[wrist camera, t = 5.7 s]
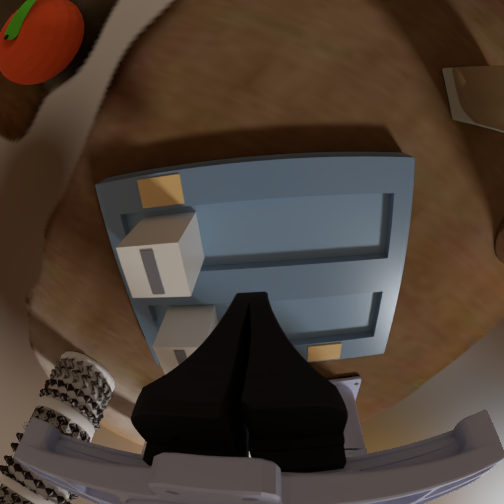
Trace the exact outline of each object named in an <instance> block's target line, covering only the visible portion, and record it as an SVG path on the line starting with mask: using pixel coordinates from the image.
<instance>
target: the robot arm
mask: <svg viewBox="0 0 504 504" xmlns="http://www.w3.org/2000/svg"><path fill="white" fill-rule="evenodd" d="M360 383H361V377H359V376H356V377H349V378H341V379H333V380H327V379H326V378H325V377H323V376H322V375H321V374H320V373H319V372H317V371H316V370H315V369H314V368H313V367H312V366H311V365H310V364H309V363H308V362H307V361H306V360H305V359H304V358H303V357H302V356H301V355H300V353H299V352H298V351H297V350H296V349H295V347H294V346H293V345H292V343H291V342H290V341H289V339H288V338H287V336H286V335H285V333H284V332H283V330H282V328H281V327H280V325H279V323H278V321H277V319H276V317H275V315H274V313H273V311H272V308H271V305H270V302H269V299H268V293H267V292H265V291H263V292H246V293H237V294H236V295H235V296H234V299H233V300H232V302H231V304H230V306H229V307H228V309H227V311H226V312H225V314H224V315H223V317H222V318H221V320H220V321H219V323H218V324H217V326H216V327H215V328H214V330H213V331H212V332H211V333H210V335H209V336H208V337H207V338H206V340H205V341H204V342H203V343H202V344H201V345H200V346H199V347H198V348H197V349H196V350H195V351H194V352H193V353H192V354H191V355H190V356H189V357H188V358H187V359H186V360H184V361H183V362H182V363H181V364H180V365H178V366H177V367H176V368H174V369H173V370H171V371H170V372H169V373H167V374H166V375H164V376H162V377H161V378H159V379H157V380H156V381H154V382H152V383H150V384H149V385H147V386H145V387H143V389H142V391H141V393H140V395H139V397H138V399H137V401H136V404H135V407H134V410H133V413H132V416H131V422H132V424H133V426H134V427H135V429H136V430H137V431H138V432H139V434H140V435H141V436H142V437H143V438H144V440H145V441H146V442H147V444H146V448H145V452H144V455H140V454H135V453H130V452H126V451H121V450H116V449H112V448H108V447H104V446H100V445H96V444H93V443H90V442H86V441H83V440H79V439H76V438H73V437H70V436H67V435H64V434H61V433H60V431H59V430H58V429H57V428H56V427H55V426H53V425H52V424H50V423H48V422H46V421H43V420H41V419H38V418H35V417H32V418H31V420H30V422H29V424H28V426H27V429H26V431H25V433H24V435H23V437H22V439H21V441H20V443H19V445H18V448H17V450H16V452H15V454H14V457H15V458H16V459H17V460H18V461H19V462H21V463H22V464H23V465H25V466H26V467H27V468H29V469H30V470H31V471H33V472H34V473H35V474H37V475H38V476H40V477H41V478H43V479H44V480H46V481H47V482H49V483H52V484H54V485H56V486H58V487H60V488H62V489H64V490H67V491H69V492H71V493H73V494H76V495H78V496H80V497H82V498H85V499H87V500H90V501H92V502H95V503H97V504H425V503H427V502H430V501H432V500H435V499H437V498H440V497H442V496H444V495H447V494H449V493H451V492H454V491H456V490H458V489H460V488H462V487H465V486H467V485H469V484H471V483H473V482H475V481H476V480H478V479H479V478H480V477H482V476H483V475H484V474H486V473H487V472H488V471H490V470H491V469H492V468H493V467H495V466H496V465H497V464H498V463H500V462H501V461H502V460H503V459H504V450H503V447H502V445H501V442H500V440H499V437H498V435H497V432H496V430H495V428H494V425H493V423H492V421H491V418H490V416H489V414H488V412H487V410H483V411H481V412H478V413H476V414H473V415H471V416H468V417H466V418H464V419H463V420H461V421H460V422H459V423H458V424H457V425H456V426H455V428H454V430H452V431H449V432H446V433H443V434H441V435H438V436H435V437H432V438H429V439H425V440H422V441H419V442H415V443H412V444H408V445H404V446H400V447H397V448H392V449H389V450H383V451H379V452H374V453H369V454H367V450H366V448H365V445H364V440H363V435H362V431H361V425H360V421H359V416H358V411H357V407H356V402H355V401H356V397H357V394H358V390H359V387H360ZM249 451H250V454H251V458H249Z"/></svg>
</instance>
